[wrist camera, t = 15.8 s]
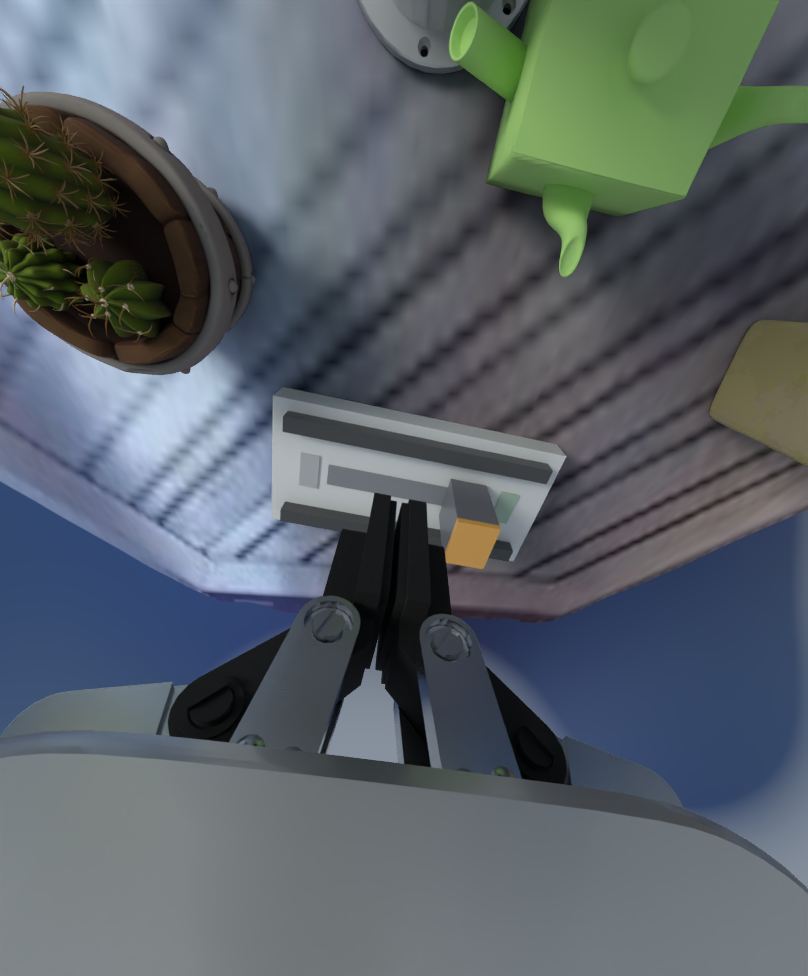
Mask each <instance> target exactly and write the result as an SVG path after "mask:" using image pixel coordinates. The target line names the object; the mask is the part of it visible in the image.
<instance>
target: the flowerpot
mask: <svg viewBox="0 0 808 976" xmlns="http://www.w3.org/2000/svg"><path fill="white" fill-rule="evenodd" d="M23 89H24V86H23V88H22V91H21V94H19V95H15V96H14V97H11V96H10V95H9V94H8V93H7V92H6V91H4V90H3V89H2V90H1V89H0V90H1V91H3V92H4V93H5V94H6V95H7V96H8V97H9V99H8V98H7V97H6V96H5V95H4V94H3V93H2V92H1V93H2V94H3V95H4V96H5V97H6V99H7V100H6V101H4V100H3V99H2V101H4V102H2V103H1V104H0V282H2V283H1V284H0V296H1V297H5V296H9V295H13V297H14V299H15V300H14V303H13V308H14V312H15V304H16V302H17V303H18V304H19V305H20V307H21V308H22V309H23V310H24V311H25V312H26V313H27V314H28V315H29V316H30V317H31V318H32V319H33V320H35V321H36V322H37V323H38V324H40V325H41V326H42V327H44V328H45V329H47V330H48V331H50V332H51V333H53V334H54V335H56V336H58V337H59V338H60V339H62V340H63V341H65V342H66V343H68V344H69V345H71V346H72V347H74V348H76V349H77V350H79V351H81V352H82V353H84V354H86V355H88V356H90V357H92V358H94V359H97V360H99V361H101V362H103V363H106V364H108V365H110V366H113V367H115V368H118V369H120V370H123V371H126V372H131V373H141V374H152V375H165V374H172V373H176V372H180V371H181V372H182V373H184V374H188V373H189V372H190V368H191V367H193V366H194V365H196V364H198V363H199V362H200V361H202V360H203V359H204V358H205V357H206V356H207V355H208V354H209V353H210V352H211V351H212V350H213V349H214V348H215V347H216V346H217V345H218V344H219V342H220V341H221V339H222V338H223V336H224V334H225V333H226V332H228V331H229V330H230V329H231V328H232V327H233V326H234V325H235V324H236V322H237V321H238V320H239V319H240V317H241V316H242V314H243V313H244V311H245V309H246V307H247V305H248V303H249V300H250V297H251V294H252V288H253V284H254V283H255V277H254V276H253V268H252V262H251V258H250V255H249V251H248V248H247V245H246V242H245V240H244V237H243V235H242V233H241V231H240V229H239V227H238V225H237V224H236V222H235V220H234V219H233V217H232V215H231V214H230V212H229V211H228V209H227V208H226V207H225V205H224V204H223V203H222V202H221V201H220V200H219V199H218V195H217V192H216V190H215V189H213V188H210V187H209V188H207V187H206V186H205V185H204V184H203V183H202V182H201V181H199V180H198V179H197V178H195V177H194V176H193V175H192V174H191V172H190V171H189V170H188V169H187V168H186V166H185V165H184V164H183V163H182V162H181V161H180V160H179V159H178V158H177V157H176V156H174V155H173V154H172V153H171V152H170V151H169V148H168V145H167V143H166V141H165V140H164V139H163V138H161V137H155V138H154V137H153V136H152V135H151V134H149V133H148V132H147V131H145V130H144V129H143V128H141V127H140V126H138V125H137V124H135V123H134V122H132V121H130V120H129V119H127V118H125V117H124V116H122V115H120V114H118V113H116V112H115V111H113V110H111V109H108V108H106V107H104V106H102V105H100V104H97V103H95V102H92V101H89V100H87V99H84V98H80V97H76V96H72V95H67V94H60V93H53V92H29V93H23ZM3 284H5V285H6V286H7V287H8V289H7V292H8V293H9V294H6V295H1V288H2V286H3ZM2 299H3V298H2ZM15 314H16V313H15Z"/></svg>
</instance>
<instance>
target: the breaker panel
mask: <svg viewBox="0 0 808 976" xmlns="http://www.w3.org/2000/svg"><path fill="white" fill-rule="evenodd" d="M566 457H567V456H566V455H565V454H564V453H563V452H562V450H561V449H560V448H559V447H558V445H557V444H553V443H548V442H543V441H539V440H534V439H529V438H524V437H520V436H515V435H510V434H505V433H501V432H496V431H491V430H486V429H482V428H477V427H472V426H467V425H463V424H458V423H453V422H448V421H443V420H439V419H434V418H429V417H424V416H420V415H415V414H410V413H405V412H401V411H396V410H391V409H386V408H382V407H377V406H372V405H367V404H363V403H358V402H353V401H348V400H344V399H339V398H334V397H329V396H324V395H320V394H315V393H310V392H305V391H301V390H296V389H291V388H286V387H282V388H281V389H280V390H279V391H277V392H276V393H275V394H274V395H273V430H272V518H274V519H279V520H280V521H285V522H290V523H296V524H302V525H307V526H313V527H318V528H324V529H330V530H335V531H342V529H348V530H353V531H359V532H365V533H367V529H368V523H369V518H370V513H371V508H372V503H373V498H374V493H380V494H385V495H391V500H393V501H397V508H396V521H395V528H396V524H397V520H398V516H399V512H400V507H401V504H402V502H403V503H408V501H409V499H412V500H417V501H422V502H426V504H427V523H428V544H432V545H437V546H442V543H441V533H440V522H439V514H440V510H441V507H442V504H443V501H444V498H445V495H446V492H447V489H448V486H449V483H450V480H451V479H455V480H460V481H465V482H470V483H475V484H481V485H486V486H487V489H488V492H489V495H490V498H491V501H492V504H493V507H494V510H495V513H496V516H497V519H498V522H499V525H500V528H501V531H500V533H499V535H498V538H497V540H496V542H495V544H494V546H493V549H492V551H491V553H490V555H489V558H492V559H498V560H503V561H514V559H515V557H516V555H517V553H518V551H519V549H520V547H521V545H522V543H523V541H524V539H525V537H526V535H527V534H528V532H529V530H530V528H531V526H532V524H533V522H534V520H535V518H536V516H537V514H538V512H539V510H540V508H541V506H542V504H543V502H544V500H545V498H546V496H547V494H548V492H549V490H550V488H551V486H552V484H553V482H554V480H555V478H556V476H557V474H558V472H559V470H560V468H561V466H562V464H563V462H564V460H565V459H566Z"/></svg>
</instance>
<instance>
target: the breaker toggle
mask: <svg viewBox="0 0 808 976" xmlns="http://www.w3.org/2000/svg"><path fill="white" fill-rule="evenodd" d="M439 522H440V533H441V543H442V546H443V547H444V550H445V557H446V563H451V564H456V565H462V566H468V567H473V568H479V569H484V566H485V564H486V562H487V560H488V558H489V555H490V553H491V551H492V549H493V546H494V544H495V542H496V540H497V538H498V535H499V533H500V531H501V528H500V525H499V522H498V519H497V516H496V513H495V510H494V507H493V504H492V501H491V498H490V495H489V492H488V489H487V486H486V485H481V484H475V483H470V482H465V481H460V480H455V479H451V480H450V483H449V486H448V489H447V492H446V495H445V498H444V501H443V504H442V507H441V510H440V514H439Z"/></svg>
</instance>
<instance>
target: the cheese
mask: <svg viewBox="0 0 808 976" xmlns="http://www.w3.org/2000/svg"><path fill="white" fill-rule="evenodd" d="M709 414H710V417H711V418H712V419H714V420H716V421H717V422H719V423H721V424H723V425H725V426H727V427H729V428H731V429H733V430H735V431H737V432H739V433H741V434H743V435H745V436H747V437H749V438H751V439H754V440H756V441H758V442H760V443H762V444H764V445H766V446H768V447H770V448H772V449H774V450H776V451H778V452H780V453H782V454H784V455H786V456H788V457H790V458H792V459H794V460H796V461H798V462H800V463H802V464H804V465H806V466H808V323H807V322H792V321H778V320H759V321H757V322H756V323H754V324H753V325H752V326H751V327H750V328H749V330H748V331H747V333H746V334H745V336H744V338H743V340H742V342H741V344H740V346H739V348H738V350H737V352H736V354H735V356H734V358H733V360H732V362H731V364H730V366H729V368H728V370H727V372H726V374H725V377H724V379H723V381H722V383H721V385H720V387H719V389H718V391H717V393H716V395H715V397H714V400H713V402H712V404H711V407H710V412H709Z"/></svg>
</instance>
